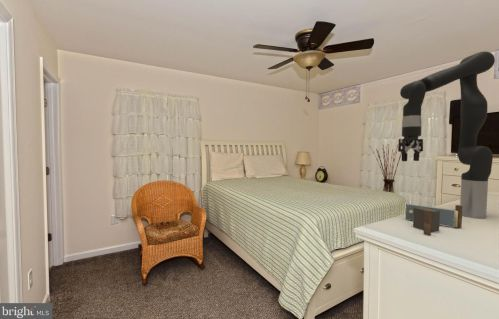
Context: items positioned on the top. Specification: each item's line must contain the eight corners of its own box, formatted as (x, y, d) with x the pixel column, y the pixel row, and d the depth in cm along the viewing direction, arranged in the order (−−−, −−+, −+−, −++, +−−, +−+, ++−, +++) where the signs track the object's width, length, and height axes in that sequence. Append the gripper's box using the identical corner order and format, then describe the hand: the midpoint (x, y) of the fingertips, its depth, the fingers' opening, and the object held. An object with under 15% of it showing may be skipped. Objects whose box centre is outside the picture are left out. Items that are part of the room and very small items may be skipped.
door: (457, 226, 97) (458, 210, 96) (457, 228, 95) (458, 212, 94) (406, 218, 108) (406, 203, 108) (405, 219, 106) (405, 204, 106)
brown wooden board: (456, 226, 98) (457, 204, 98) (461, 227, 97) (462, 205, 96) (423, 234, 90) (424, 210, 89) (428, 235, 88) (429, 211, 88)
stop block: (420, 225, 100) (420, 206, 99) (439, 231, 93) (439, 210, 93) (413, 227, 98) (413, 207, 97) (431, 232, 91) (432, 212, 91)
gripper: (409, 125, 105) (408, 162, 106) (429, 126, 111) (428, 161, 112) (393, 126, 112) (392, 161, 113) (413, 127, 118) (412, 160, 119)
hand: (410, 161), depth 112 cm, fingers open, 8 cm apart
